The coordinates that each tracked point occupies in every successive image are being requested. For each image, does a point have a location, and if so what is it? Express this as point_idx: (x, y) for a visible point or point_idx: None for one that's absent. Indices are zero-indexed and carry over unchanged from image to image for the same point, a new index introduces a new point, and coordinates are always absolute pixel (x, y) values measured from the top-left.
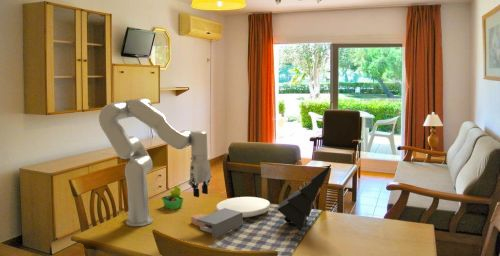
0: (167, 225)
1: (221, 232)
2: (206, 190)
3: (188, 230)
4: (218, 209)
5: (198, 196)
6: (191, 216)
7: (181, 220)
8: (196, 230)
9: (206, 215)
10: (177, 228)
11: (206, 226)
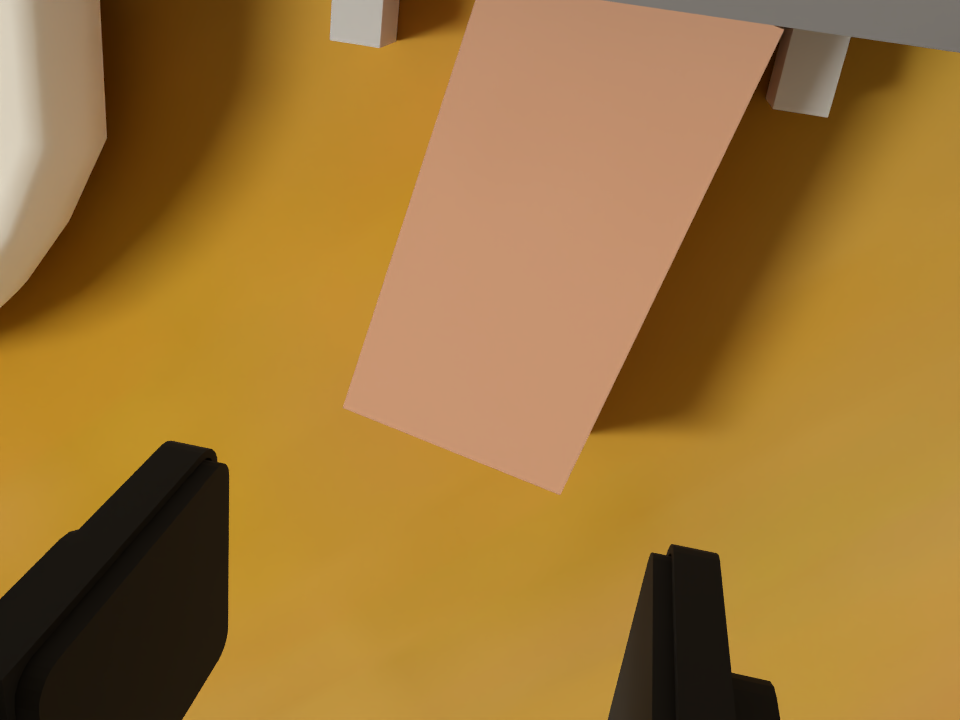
0: (836, 677)
1: None
2: (153, 547)
3: (933, 280)
4: (17, 214)
5: (713, 562)
6: (563, 485)
7: (562, 605)
8: (883, 145)
9: (766, 22)
10: (905, 492)
11: None
